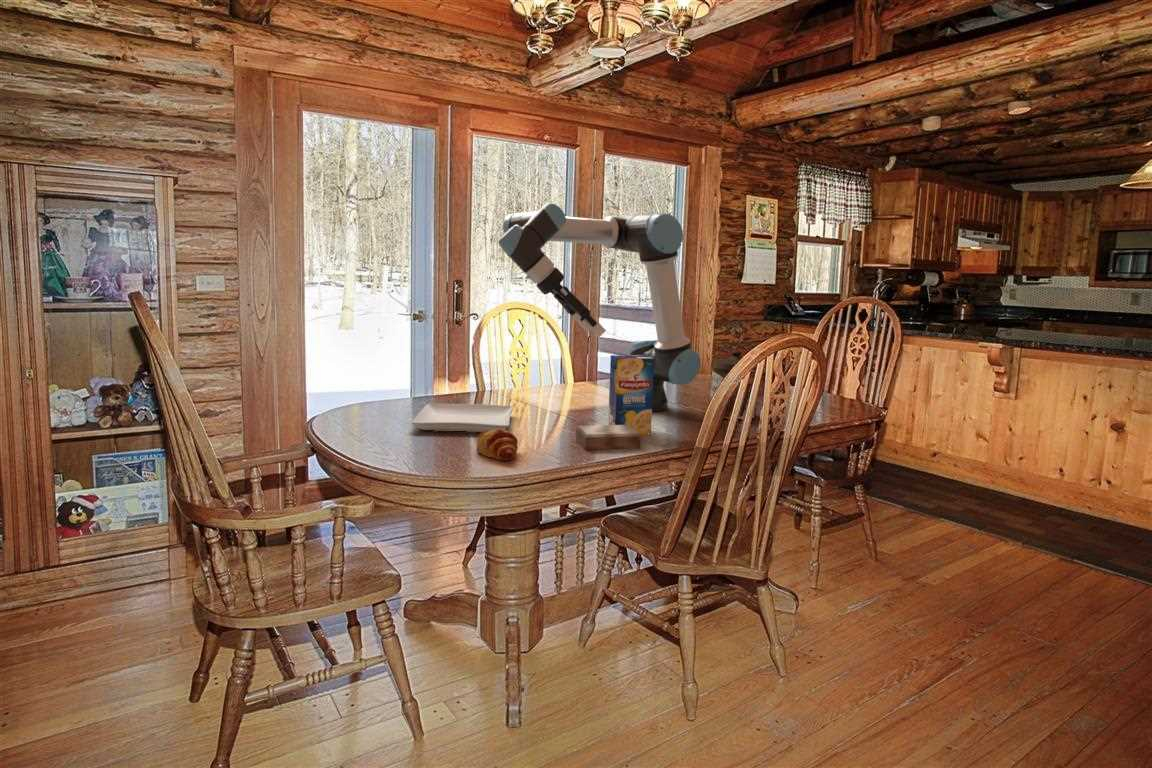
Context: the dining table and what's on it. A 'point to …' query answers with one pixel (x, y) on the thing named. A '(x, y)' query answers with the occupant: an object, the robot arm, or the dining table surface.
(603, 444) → the base block
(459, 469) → the dining table surface
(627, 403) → the beverage box
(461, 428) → the square plate
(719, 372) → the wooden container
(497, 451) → the croissant
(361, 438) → the dining table surface
